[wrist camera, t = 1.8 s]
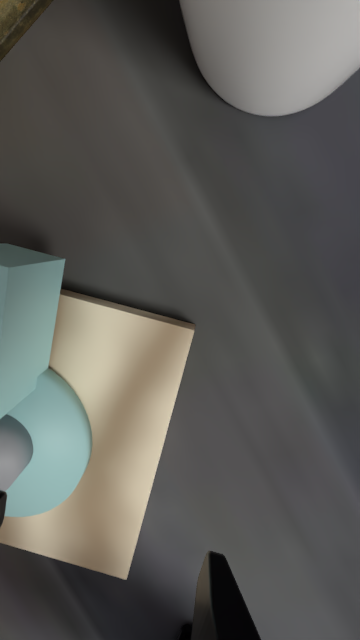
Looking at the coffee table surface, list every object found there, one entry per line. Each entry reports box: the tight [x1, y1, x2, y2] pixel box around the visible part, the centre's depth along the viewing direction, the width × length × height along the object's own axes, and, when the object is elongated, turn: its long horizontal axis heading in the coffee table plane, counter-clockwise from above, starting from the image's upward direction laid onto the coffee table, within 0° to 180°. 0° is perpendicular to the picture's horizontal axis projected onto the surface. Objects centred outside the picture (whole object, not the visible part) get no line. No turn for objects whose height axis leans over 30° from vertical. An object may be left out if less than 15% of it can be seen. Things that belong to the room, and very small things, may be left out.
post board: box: [0, 289, 195, 580], centre depth 19 cm, size 18×18×5 cm
